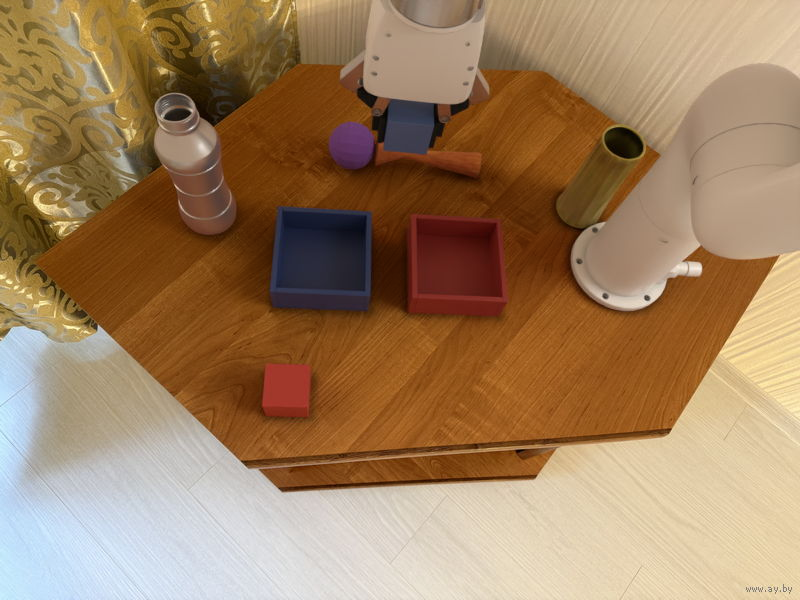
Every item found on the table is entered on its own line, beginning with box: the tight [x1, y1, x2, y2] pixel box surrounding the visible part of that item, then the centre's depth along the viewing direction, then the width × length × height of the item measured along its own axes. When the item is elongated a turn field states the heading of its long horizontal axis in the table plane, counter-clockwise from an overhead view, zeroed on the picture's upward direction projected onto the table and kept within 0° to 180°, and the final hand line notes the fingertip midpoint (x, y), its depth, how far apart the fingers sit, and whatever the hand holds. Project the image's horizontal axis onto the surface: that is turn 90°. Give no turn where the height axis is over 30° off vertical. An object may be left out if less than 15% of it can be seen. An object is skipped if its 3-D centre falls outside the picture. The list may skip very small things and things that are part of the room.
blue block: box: [383, 98, 434, 155], centre depth 61 cm, size 5×5×5 cm
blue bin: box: [269, 205, 373, 312], centre depth 71 cm, size 11×11×4 cm
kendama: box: [328, 121, 483, 178], centre depth 78 cm, size 6×6×20 cm
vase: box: [555, 123, 647, 230], centre depth 74 cm, size 6×6×14 cm
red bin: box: [406, 213, 509, 317], centre depth 73 cm, size 11×11×4 cm
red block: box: [261, 362, 312, 418], centre depth 64 cm, size 5×5×5 cm
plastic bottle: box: [153, 92, 238, 236], centre depth 65 cm, size 6×7×20 cm
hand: (405, 133), depth 63 cm, fingers closed on blue block, 4 cm apart
